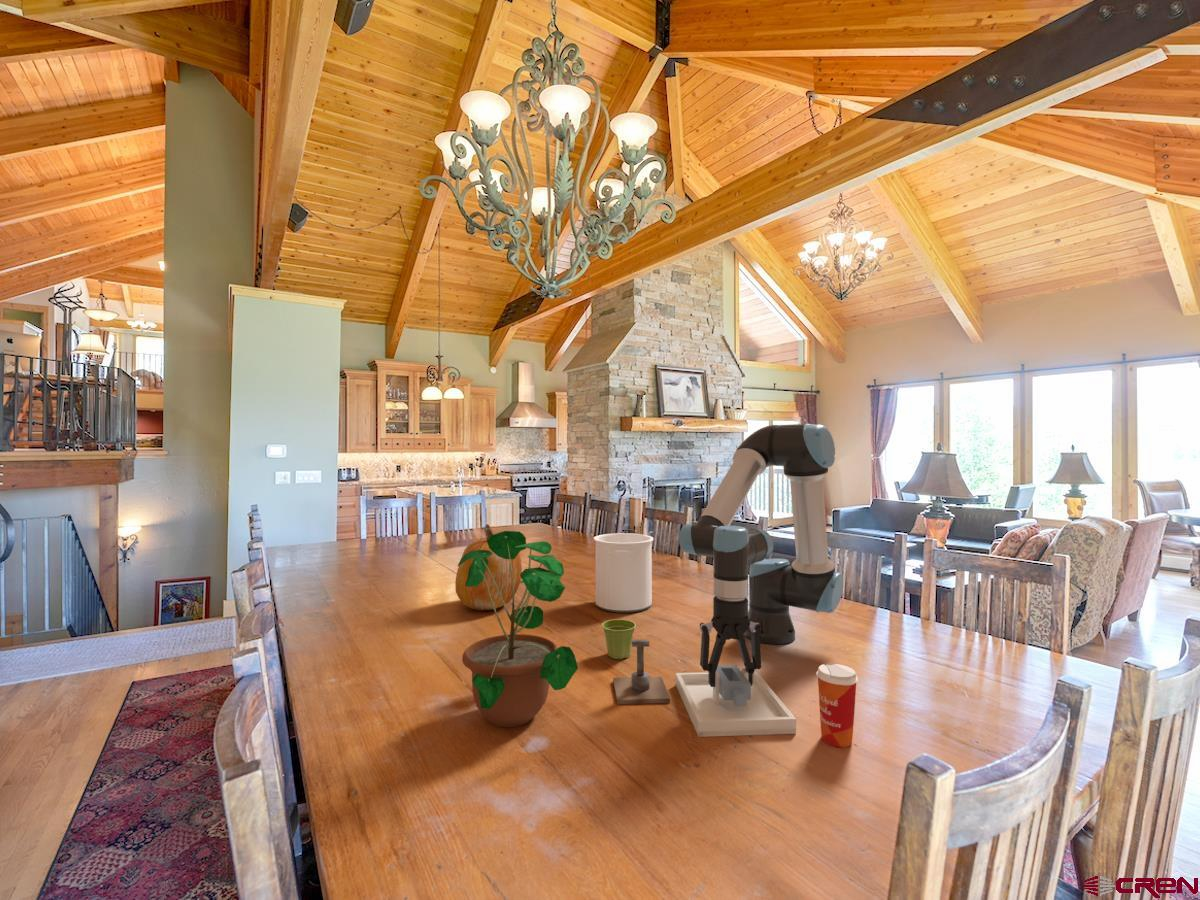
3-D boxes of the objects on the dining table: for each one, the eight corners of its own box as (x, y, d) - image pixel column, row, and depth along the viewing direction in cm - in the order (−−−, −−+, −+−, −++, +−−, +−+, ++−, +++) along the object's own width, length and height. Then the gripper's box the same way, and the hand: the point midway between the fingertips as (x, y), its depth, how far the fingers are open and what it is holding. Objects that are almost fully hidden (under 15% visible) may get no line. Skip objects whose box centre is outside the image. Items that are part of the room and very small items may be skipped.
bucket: (598, 594, 219) (598, 531, 219) (654, 596, 216) (654, 532, 216) (588, 614, 194) (588, 543, 193) (651, 617, 191) (651, 544, 190)
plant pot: (633, 663, 151) (633, 631, 151) (598, 660, 153) (598, 628, 153) (638, 650, 160) (638, 620, 160) (605, 648, 162) (605, 618, 162)
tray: (756, 683, 138) (756, 671, 138) (796, 733, 115) (796, 719, 114) (675, 685, 137) (675, 673, 137) (698, 736, 113) (698, 721, 113)
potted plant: (535, 767, 103) (534, 551, 102) (426, 725, 118) (425, 537, 117) (619, 701, 129) (619, 528, 128) (521, 674, 144) (521, 519, 144)
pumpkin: (515, 617, 191) (515, 529, 191) (449, 617, 191) (448, 528, 191) (527, 596, 217) (526, 518, 217) (468, 596, 217) (467, 518, 217)
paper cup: (809, 731, 116) (809, 663, 115) (845, 729, 116) (845, 661, 116) (827, 752, 108) (827, 679, 108) (866, 750, 108) (866, 677, 108)
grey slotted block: (711, 680, 131) (711, 665, 131) (736, 679, 131) (736, 665, 131) (727, 706, 118) (727, 690, 118) (755, 705, 118) (755, 689, 118)
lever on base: (661, 680, 140) (661, 631, 140) (670, 702, 128) (670, 649, 128) (613, 681, 140) (613, 632, 139) (617, 704, 128) (617, 650, 127)
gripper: (766, 591, 130) (766, 691, 130) (685, 592, 129) (685, 693, 129) (778, 600, 122) (778, 706, 123) (692, 602, 121) (692, 709, 122)
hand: (730, 699), depth 126 cm, fingers closed on grey slotted block, 6 cm apart
